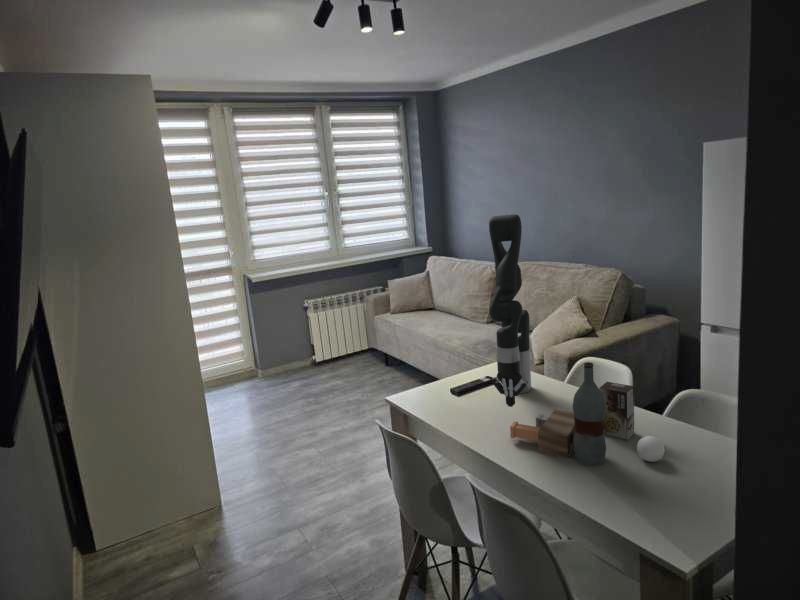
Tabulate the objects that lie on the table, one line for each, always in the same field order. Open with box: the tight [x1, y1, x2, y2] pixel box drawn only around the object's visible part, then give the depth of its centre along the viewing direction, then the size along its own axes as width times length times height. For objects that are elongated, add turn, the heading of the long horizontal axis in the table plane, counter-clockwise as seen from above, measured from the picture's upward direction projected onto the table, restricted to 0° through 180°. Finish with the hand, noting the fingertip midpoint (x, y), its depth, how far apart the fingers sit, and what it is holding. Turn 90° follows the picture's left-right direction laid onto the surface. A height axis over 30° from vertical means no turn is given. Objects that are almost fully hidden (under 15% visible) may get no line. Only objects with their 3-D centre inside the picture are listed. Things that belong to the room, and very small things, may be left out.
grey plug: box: [535, 412, 550, 428], centre depth 175 cm, size 4×13×4 cm, turn 58°
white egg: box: [634, 435, 665, 463], centre depth 157 cm, size 10×7×7 cm
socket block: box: [537, 408, 575, 458], centre depth 170 cm, size 18×9×7 cm, turn 148°
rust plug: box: [509, 421, 540, 442], centre depth 171 cm, size 4×13×4 cm, turn 58°
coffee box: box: [598, 381, 635, 440], centre depth 172 cm, size 9×6×16 cm
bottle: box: [572, 361, 607, 467], centre depth 157 cm, size 9×9×30 cm
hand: (510, 405), depth 183 cm, fingers closed
